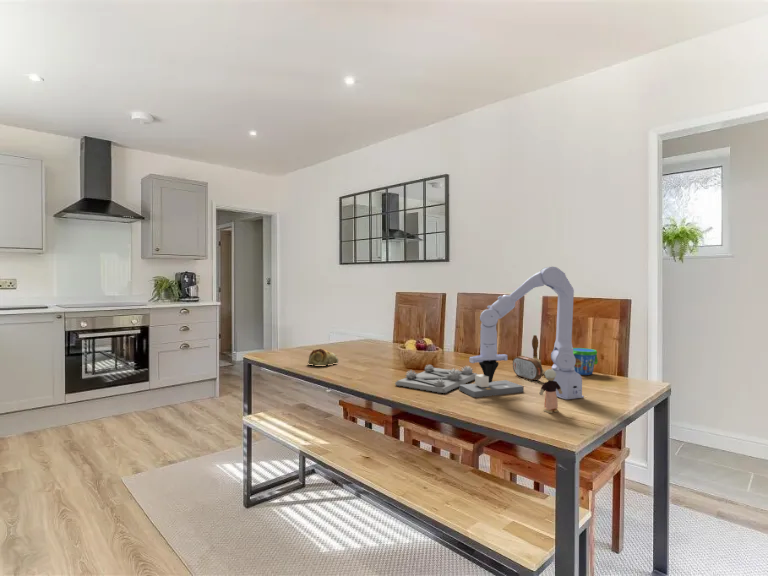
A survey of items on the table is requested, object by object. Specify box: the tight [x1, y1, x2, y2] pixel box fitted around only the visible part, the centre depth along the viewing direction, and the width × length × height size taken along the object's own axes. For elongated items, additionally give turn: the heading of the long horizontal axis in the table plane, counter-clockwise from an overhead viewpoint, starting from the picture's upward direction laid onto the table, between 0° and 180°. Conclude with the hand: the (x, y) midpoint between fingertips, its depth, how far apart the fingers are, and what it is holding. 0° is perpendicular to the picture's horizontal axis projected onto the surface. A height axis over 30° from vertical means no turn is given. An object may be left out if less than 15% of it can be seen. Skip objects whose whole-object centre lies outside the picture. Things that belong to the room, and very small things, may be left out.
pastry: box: [307, 348, 339, 365], centre depth 200 cm, size 14×12×8 cm
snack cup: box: [573, 347, 599, 376], centre depth 178 cm, size 16×10×10 cm
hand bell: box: [531, 334, 546, 375], centre depth 180 cm, size 8×8×16 cm
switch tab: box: [474, 373, 489, 387], centre depth 149 cm, size 4×3×4 cm
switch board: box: [458, 379, 525, 398], centre depth 150 cm, size 10×20×2 cm, turn 110°
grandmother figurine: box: [539, 368, 562, 414], centre depth 127 cm, size 8×4×13 cm, turn 118°
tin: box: [512, 355, 543, 381], centre depth 170 cm, size 15×3×8 cm, turn 22°
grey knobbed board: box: [394, 364, 479, 394], centre depth 165 cm, size 30×22×7 cm
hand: (488, 381), depth 150 cm, fingers closed
